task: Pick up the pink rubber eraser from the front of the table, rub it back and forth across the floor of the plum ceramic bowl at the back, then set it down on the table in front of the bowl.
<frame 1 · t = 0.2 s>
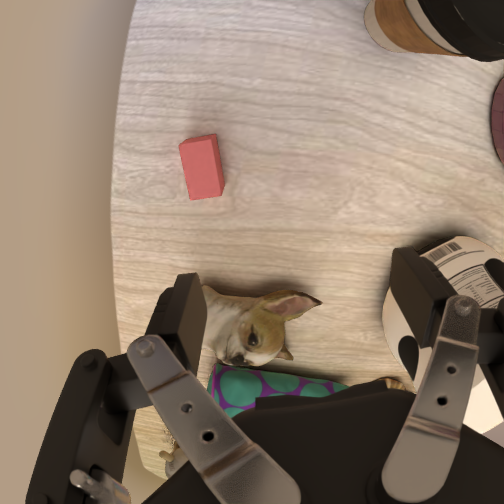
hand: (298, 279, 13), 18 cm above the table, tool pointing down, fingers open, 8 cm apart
coffee cup: (392, 24, 21), on the table
ceramic sculpture: (244, 307, 36), on the table
eraser: (205, 162, 28), on the table
pencil case: (280, 379, 43), on the table, touching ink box
toy sheep: (198, 444, 54), on the table
milk container: (435, 287, 35), on the table
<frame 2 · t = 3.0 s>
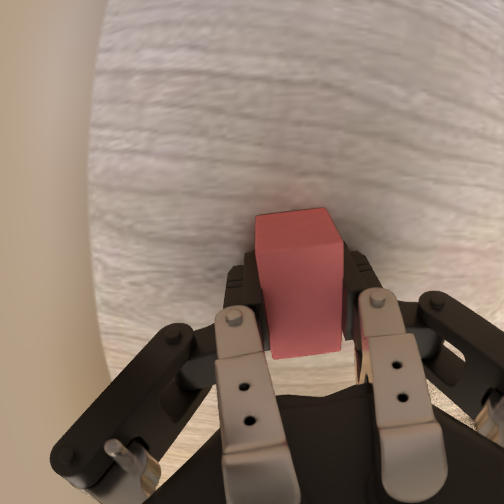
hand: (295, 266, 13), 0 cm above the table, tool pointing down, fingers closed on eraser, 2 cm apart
eraser: (295, 264, 14), on the table, touching gripper
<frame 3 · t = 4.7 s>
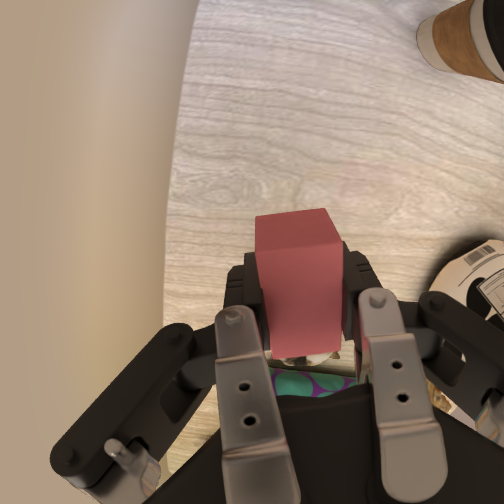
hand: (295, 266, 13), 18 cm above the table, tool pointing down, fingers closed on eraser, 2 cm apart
coffee cup: (439, 44, 22), on the table
ceramic sculpture: (296, 309, 37), on the table
eraser: (295, 265, 14), point 17 cm above the table, touching gripper
seashell: (420, 385, 46), on the table
pencil case: (322, 380, 44), on the table, touching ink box
milk container: (466, 286, 35), on the table
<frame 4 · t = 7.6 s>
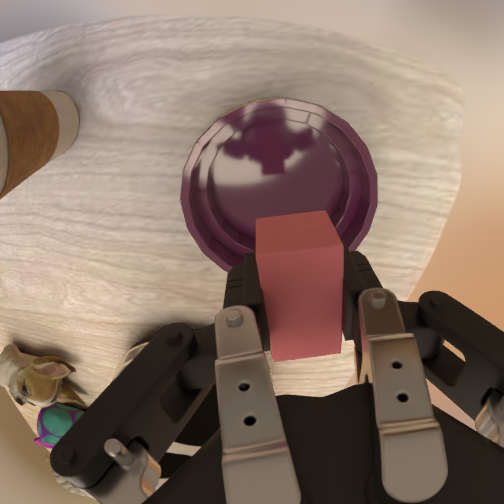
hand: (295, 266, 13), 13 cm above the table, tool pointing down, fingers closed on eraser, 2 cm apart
coffee cup: (54, 123, 22), on the table
ceramic sculpture: (44, 361, 37), on the table
eraser: (296, 267, 14), point 12 cm above the table, touching gripper
pencil case: (105, 420, 44), on the table, touching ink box
toy sheep: (82, 454, 55), on the table
milk container: (194, 369, 36), on the table
bowl: (277, 181, 24), on the table
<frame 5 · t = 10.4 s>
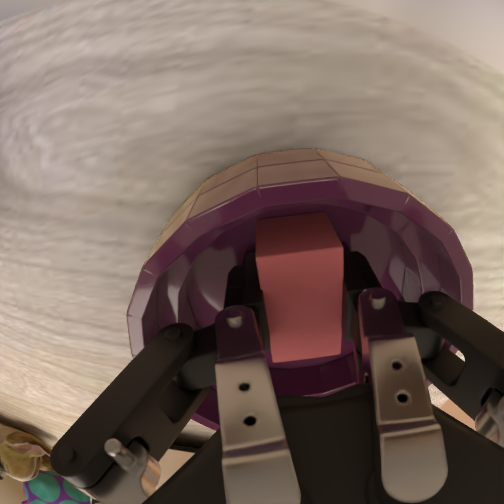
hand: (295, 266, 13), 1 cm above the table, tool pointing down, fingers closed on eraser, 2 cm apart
ceramic sculpture: (20, 430, 27), on the table
eraser: (296, 268, 14), point 1 cm above the table, touching gripper
pencil case: (95, 482, 34), on the table, touching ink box
milk container: (186, 464, 26), on the table
bowl: (298, 289, 15), on the table
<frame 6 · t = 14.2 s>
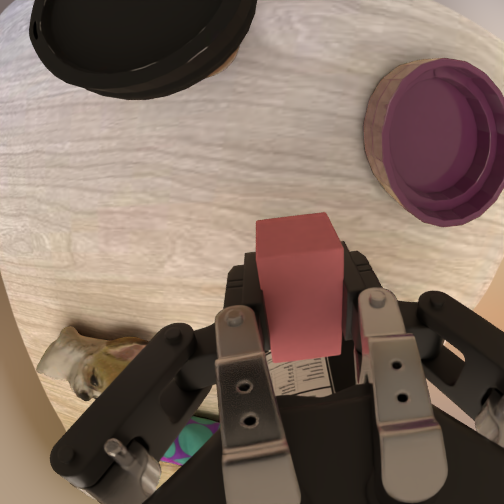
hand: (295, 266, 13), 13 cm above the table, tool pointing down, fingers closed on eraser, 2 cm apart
coffee cup: (200, 43, 20), on the table
ceramic sculpture: (110, 346, 35), on the table
eraser: (296, 268, 14), point 13 cm above the table, touching gripper
pencil case: (173, 413, 42), on the table, touching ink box
milk container: (310, 339, 34), on the table
bowl: (431, 135, 22), on the table
when the fingers open (0 cm above the table, at t = 17.4 s): eraser stays where it is, on the table.
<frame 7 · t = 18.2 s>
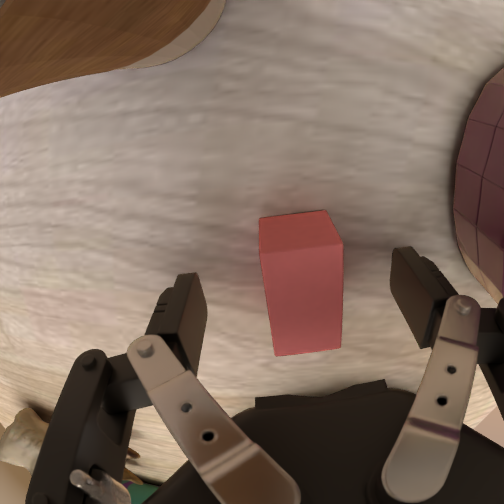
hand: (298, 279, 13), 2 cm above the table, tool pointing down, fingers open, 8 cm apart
coffee cup: (151, 1, 9), on the table
ceramic sculpture: (77, 429, 24), on the table
eraser: (297, 265, 14), on the table
pencil case: (161, 487, 31), on the table, touching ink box
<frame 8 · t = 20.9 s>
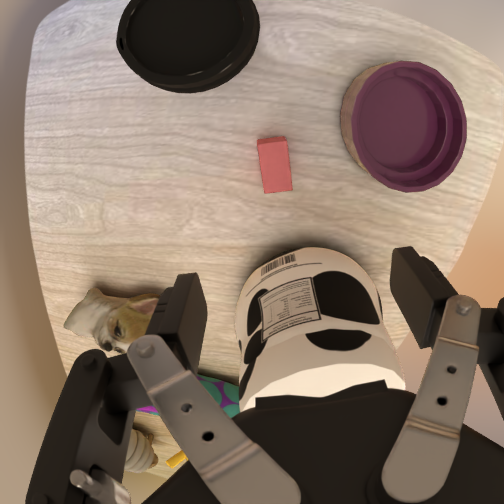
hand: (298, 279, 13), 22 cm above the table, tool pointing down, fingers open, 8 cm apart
coffee cup: (215, 53, 27), on the table
ceramic sculpture: (130, 306, 42), on the table
eraser: (273, 160, 32), on the table
pencil case: (183, 374, 49), on the table, touching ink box
toy sheep: (133, 427, 60), on the table
milk container: (304, 295, 40), on the table
bowl: (396, 122, 29), on the table
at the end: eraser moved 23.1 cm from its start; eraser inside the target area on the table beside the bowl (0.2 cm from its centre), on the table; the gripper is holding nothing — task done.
